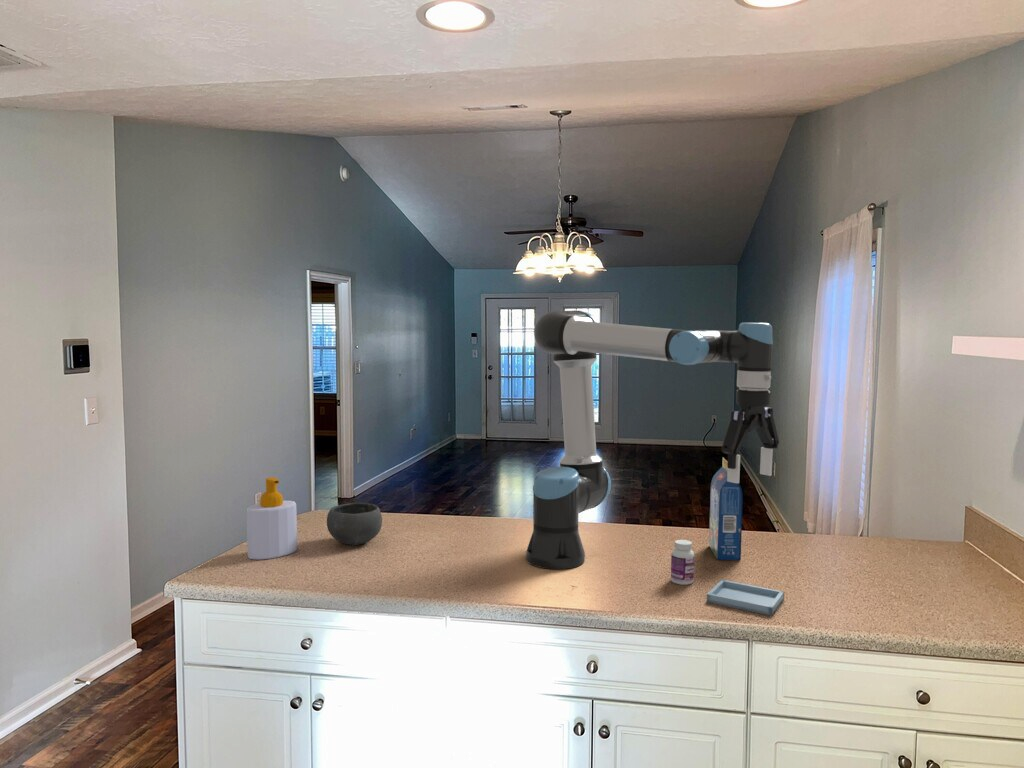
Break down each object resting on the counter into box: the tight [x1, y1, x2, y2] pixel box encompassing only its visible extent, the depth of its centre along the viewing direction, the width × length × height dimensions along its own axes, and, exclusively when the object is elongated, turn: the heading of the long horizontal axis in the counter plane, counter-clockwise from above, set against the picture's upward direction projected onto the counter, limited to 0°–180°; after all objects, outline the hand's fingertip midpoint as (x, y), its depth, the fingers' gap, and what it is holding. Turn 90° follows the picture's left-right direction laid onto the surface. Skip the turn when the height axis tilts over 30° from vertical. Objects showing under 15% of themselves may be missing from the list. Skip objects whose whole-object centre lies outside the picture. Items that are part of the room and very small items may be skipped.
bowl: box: [326, 502, 383, 546], centre depth 204 cm, size 15×15×10 cm
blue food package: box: [708, 457, 744, 561], centre depth 195 cm, size 6×12×25 cm, turn 175°
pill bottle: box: [670, 539, 695, 586], centre depth 174 cm, size 5×5×10 cm
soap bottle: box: [246, 476, 298, 561], centre depth 193 cm, size 13×8×20 cm, turn 131°
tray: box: [706, 579, 785, 617], centre depth 163 cm, size 14×11×2 cm
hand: (749, 478), depth 173 cm, fingers open, 13 cm apart
